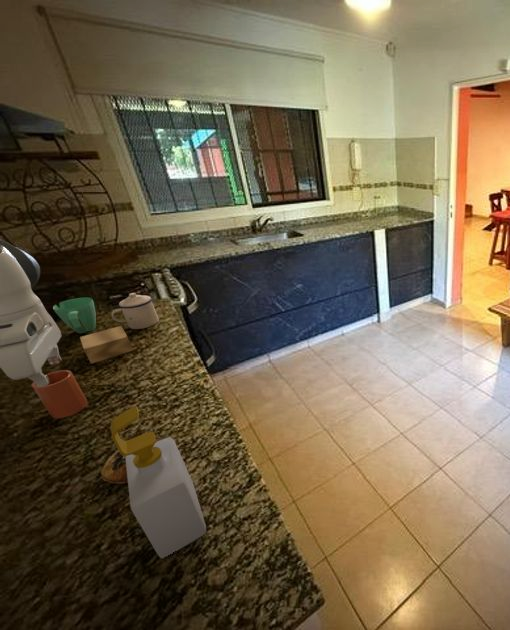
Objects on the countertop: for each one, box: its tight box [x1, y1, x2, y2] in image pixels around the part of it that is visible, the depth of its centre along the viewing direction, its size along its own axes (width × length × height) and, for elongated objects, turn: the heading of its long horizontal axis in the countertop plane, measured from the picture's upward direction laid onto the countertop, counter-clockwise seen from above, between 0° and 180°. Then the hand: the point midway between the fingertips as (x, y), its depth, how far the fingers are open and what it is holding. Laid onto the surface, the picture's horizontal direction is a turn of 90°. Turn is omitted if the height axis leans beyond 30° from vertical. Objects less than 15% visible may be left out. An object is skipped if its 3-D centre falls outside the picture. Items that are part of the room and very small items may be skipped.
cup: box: [31, 369, 89, 419], centre depth 81 cm, size 7×7×9 cm
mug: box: [52, 297, 97, 334], centre depth 114 cm, size 15×10×10 cm
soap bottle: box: [110, 405, 207, 560], centre depth 53 cm, size 12×7×23 cm, turn 41°
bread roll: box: [100, 434, 164, 485], centre depth 68 cm, size 11×11×5 cm
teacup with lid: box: [110, 292, 160, 330], centre depth 118 cm, size 12×9×12 cm
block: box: [79, 325, 134, 364], centre depth 105 cm, size 10×10×5 cm
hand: (50, 373), depth 78 cm, fingers open, 8 cm apart
